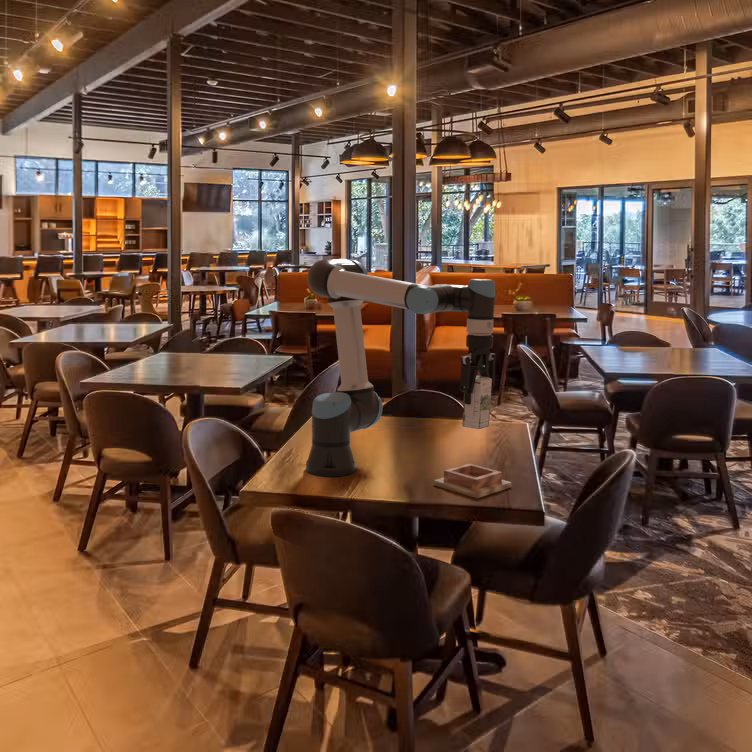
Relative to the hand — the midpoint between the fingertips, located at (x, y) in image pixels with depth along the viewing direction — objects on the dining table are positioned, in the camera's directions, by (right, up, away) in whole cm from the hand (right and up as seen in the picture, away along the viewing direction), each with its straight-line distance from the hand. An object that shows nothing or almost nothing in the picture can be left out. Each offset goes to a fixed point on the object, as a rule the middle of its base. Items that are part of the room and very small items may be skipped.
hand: (476, 413), depth 230 cm
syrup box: (0, -4, +1) cm, 4 cm away
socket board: (-1, -21, +4) cm, 22 cm away
